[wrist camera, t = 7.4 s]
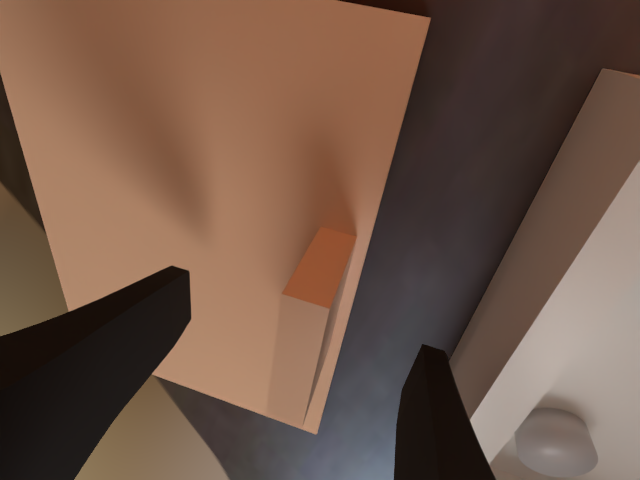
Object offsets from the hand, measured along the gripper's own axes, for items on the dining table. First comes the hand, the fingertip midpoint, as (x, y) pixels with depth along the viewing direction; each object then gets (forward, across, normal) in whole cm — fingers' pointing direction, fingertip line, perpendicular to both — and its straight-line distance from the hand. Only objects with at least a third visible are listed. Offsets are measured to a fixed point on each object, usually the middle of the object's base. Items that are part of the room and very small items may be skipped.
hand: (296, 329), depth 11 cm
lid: (+3, +5, 0) cm, 6 cm away
